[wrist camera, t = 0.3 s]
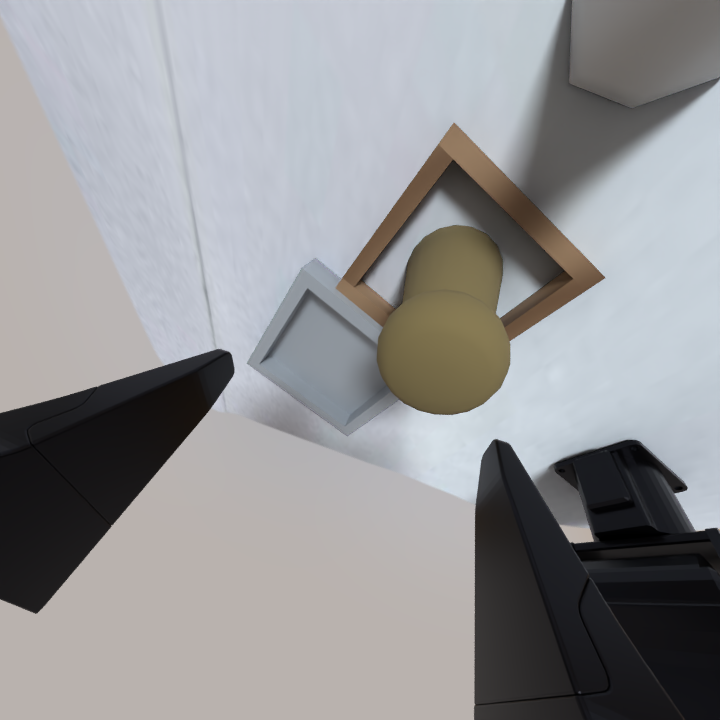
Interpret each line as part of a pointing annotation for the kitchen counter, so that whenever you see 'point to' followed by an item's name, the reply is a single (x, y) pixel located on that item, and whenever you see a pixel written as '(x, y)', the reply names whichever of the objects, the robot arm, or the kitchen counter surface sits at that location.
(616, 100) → the flask
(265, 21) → the kitchen counter surface
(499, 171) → the wooden picture frame
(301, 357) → the tray
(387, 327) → the cork
